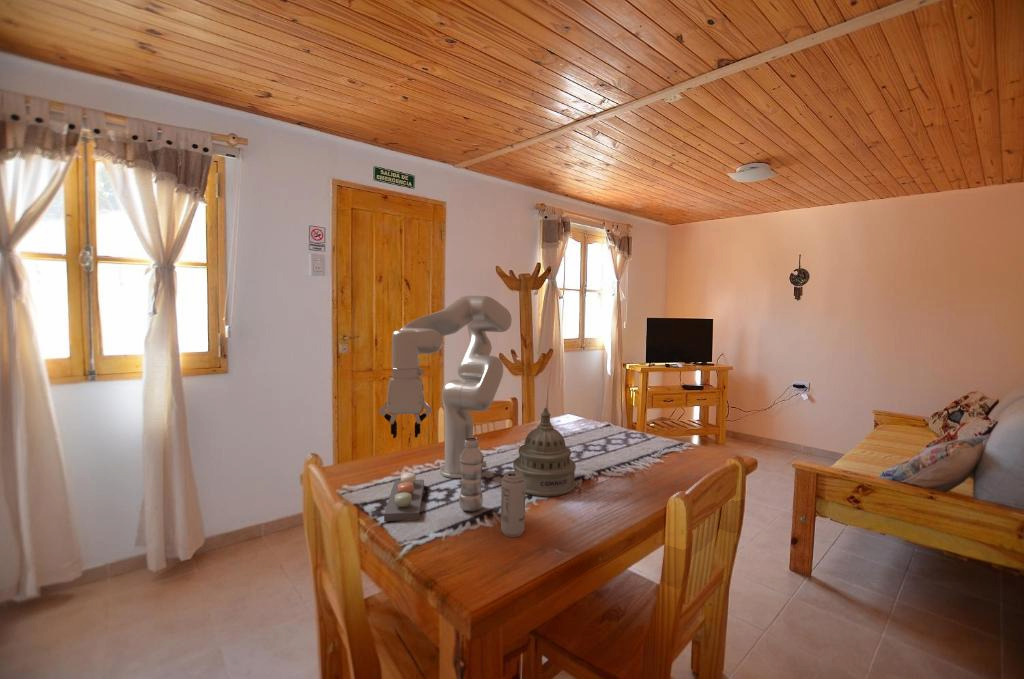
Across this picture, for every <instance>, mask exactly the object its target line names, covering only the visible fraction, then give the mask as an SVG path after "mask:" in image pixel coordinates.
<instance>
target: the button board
mask: <svg viewBox="0 0 1024 679" xmlns="http://www.w3.org/2000/svg"><path fill="white" fill-rule="evenodd" d="M400 483H401V479H399V480H397V479H395V480H394V482H393V485H392V488H391V491H390V493H389V494H390V495H389V498H388V501H387V503H386V507H385V510H384V512H383V521H384V522H395V521H396V522H397V521H398V522H399V521H416V520H417V521H419V520H420V515H421V509H422V508H421V507H422V502H423V501H422V500H423V494H424V489H425V479H416V482H415V483H413V484H414V492H413V493H412V494H411V504H410V505H408V506H396V505H395V495H396V494H399V493H398V485H399V484H400Z"/></svg>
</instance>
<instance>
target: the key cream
mask: <svg viewBox="0 0 1024 679" xmlns="http://www.w3.org/2000/svg"><path fill="white" fill-rule="evenodd" d="M416 476H417V475H416V474H415V473H414V472H406V473H401V474H400V480H401V483H403V482H411V483H415V482H416V480H417V478H416Z"/></svg>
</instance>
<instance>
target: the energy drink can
mask: <svg viewBox="0 0 1024 679" xmlns="http://www.w3.org/2000/svg"><path fill="white" fill-rule="evenodd" d="M500 494H501V497H500V498H501V500H500V503H501V506H500V508H501V509H500V530H501V531H502V534H503V535H504V536H507V537H511V538H515V537H516V538H517V537H520V536H521V535H522V534H523V532H524V531H525V526H526V524H525V523H526V521H525V520H526V493H525V479H524V477H523V473H521V472H518V471H514V470H510V471H506V472H504V473H503V477H502V479H501V493H500Z"/></svg>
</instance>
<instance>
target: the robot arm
mask: <svg viewBox="0 0 1024 679" xmlns="http://www.w3.org/2000/svg"><path fill="white" fill-rule="evenodd" d="M465 326H466V327H467V332H468V336H469V338H468V339H469V340H468V344H467V347H466V349H465V351H464V354H463V355H462V358H461V360H460V362H459V364H458V367H457V375H458V377H459V378H460V379H452V380H449V381H447V382H446V383H445V384H444V385H443V387H442V390H441V400H442V403H443V411H444V465H442V466H441V467H440V468H439V473H440V474H441V475H442V476H443V477H446V478H448V479H449V478H451V479H462V477H461V465H460V456H461V454H462V452H463V451H464V449H465V448H466V447H465V439H466V438H474V419H473V415H472V413H471V412H472V411H473V412H486V411H487V410H489V408H490V407H491V405H492V403H493V401H494V399H495V396H496V395H497V391H498V388H499V386H500V383H501V382H502V378H503V375H504V364H503V361H502V360H501V359H500V357H497V356H496V355H491V353H492V348H493V347H492V343H491V341H490V339H489V337H488V336H487V333H489V332H491V333H493V332H494V333H504V332H507V331H509V329H510V327H511V326H512V315H511V313H510V311H509V310H508V308H506V307H505V306H504V305H502V304H501V303H500V302H499V301H497V300H496V299H494V298H492V297H491V296H487V295H464V296H461V297H459V298H458V299H457V300H455V301H453V302H452V303H451V304H449V305H448V306H446V307H445V308H443V309H441V310H439V311H435V312H433V313H430V314H426V315H423V316H420V317H418V318H416V319H413V320H411V321H409V322H408V323H407V324H405V325H404V326H402V327H401V328H400V329H397V330H394V331H393V332H392V334H391V377H390V378H389V381H388V385H387V386H388V387H387V396H386V401H385V403H383V405H382V406H380V408H379V409H378V414H379V415H381V416H382V417H384V418H385V419H386V421H388V422H389V424H390V435H392V438H393V439H395V438H396V437H397V435H398V422H397V420H396V418H397V415H413V416H414V418H415V419H414V420H415V422H414V438H415V439H416V438H418V437H419V435H420V434H421V423H422V422H423V421H424V420H425V419H426V418H427V416H429V415H430V414H431V413H432V412H433V409H432V407H431V406H430V405H429V404H428V403H427V401H425V392H424V382H423V378H422V377H421V376H422V375H425V369H422V368H420V355H422V354H423V355H434V354H436V353H438V352H439V351H440V350H441V349H442V347H443V344H444V338H443V337H444V336H450V335H454V334H456V333H458V332H459V331H461V330H462V329H463V328H464V327H465ZM424 409H425V411H424ZM423 411H424V412H423ZM421 413H422V414H421ZM482 468H487V461H485V460H483V466H482Z"/></svg>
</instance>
